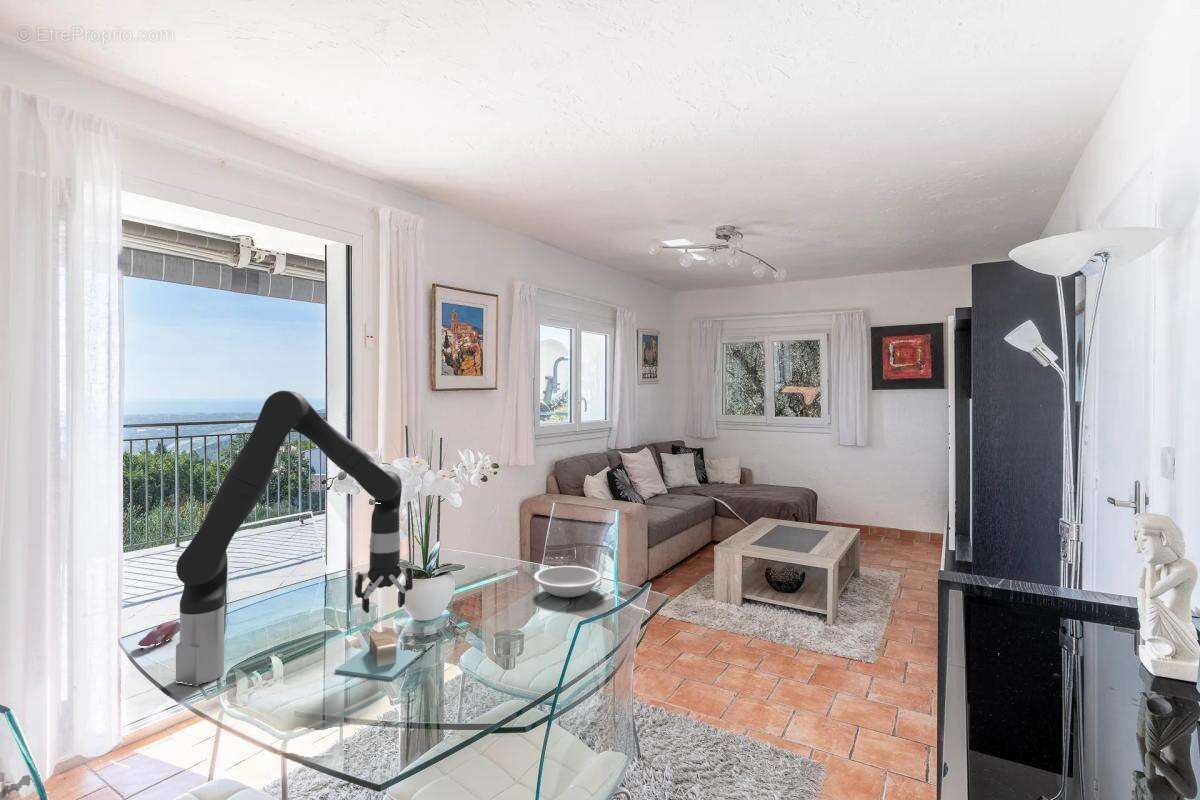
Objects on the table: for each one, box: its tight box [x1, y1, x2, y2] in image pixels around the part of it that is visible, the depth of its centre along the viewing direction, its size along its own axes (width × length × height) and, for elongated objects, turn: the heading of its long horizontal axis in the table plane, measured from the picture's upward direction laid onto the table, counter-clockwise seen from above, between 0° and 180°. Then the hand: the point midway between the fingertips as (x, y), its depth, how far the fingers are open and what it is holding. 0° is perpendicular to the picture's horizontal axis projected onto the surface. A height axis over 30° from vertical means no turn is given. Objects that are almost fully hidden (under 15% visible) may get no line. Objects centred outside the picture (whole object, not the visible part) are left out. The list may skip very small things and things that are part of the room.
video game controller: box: [137, 619, 180, 647], centre depth 168 cm, size 10×5×7 cm, turn 170°
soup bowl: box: [533, 565, 602, 598], centre depth 214 cm, size 24×24×7 cm
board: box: [334, 645, 423, 681], centre depth 162 cm, size 22×16×1 cm
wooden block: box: [368, 630, 396, 667], centre depth 160 cm, size 4×4×11 cm
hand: (383, 609), depth 159 cm, fingers open, 8 cm apart
